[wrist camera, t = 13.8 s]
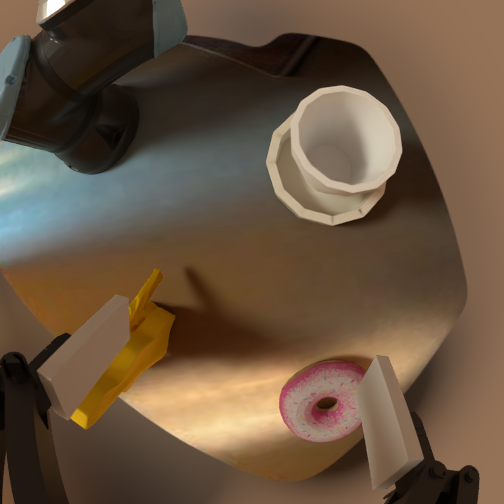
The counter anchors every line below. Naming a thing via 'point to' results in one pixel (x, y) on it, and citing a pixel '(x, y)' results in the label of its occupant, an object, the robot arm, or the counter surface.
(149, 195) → the counter surface
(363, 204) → the dish
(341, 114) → the foam cup
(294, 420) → the donut
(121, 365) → the figure statuette
